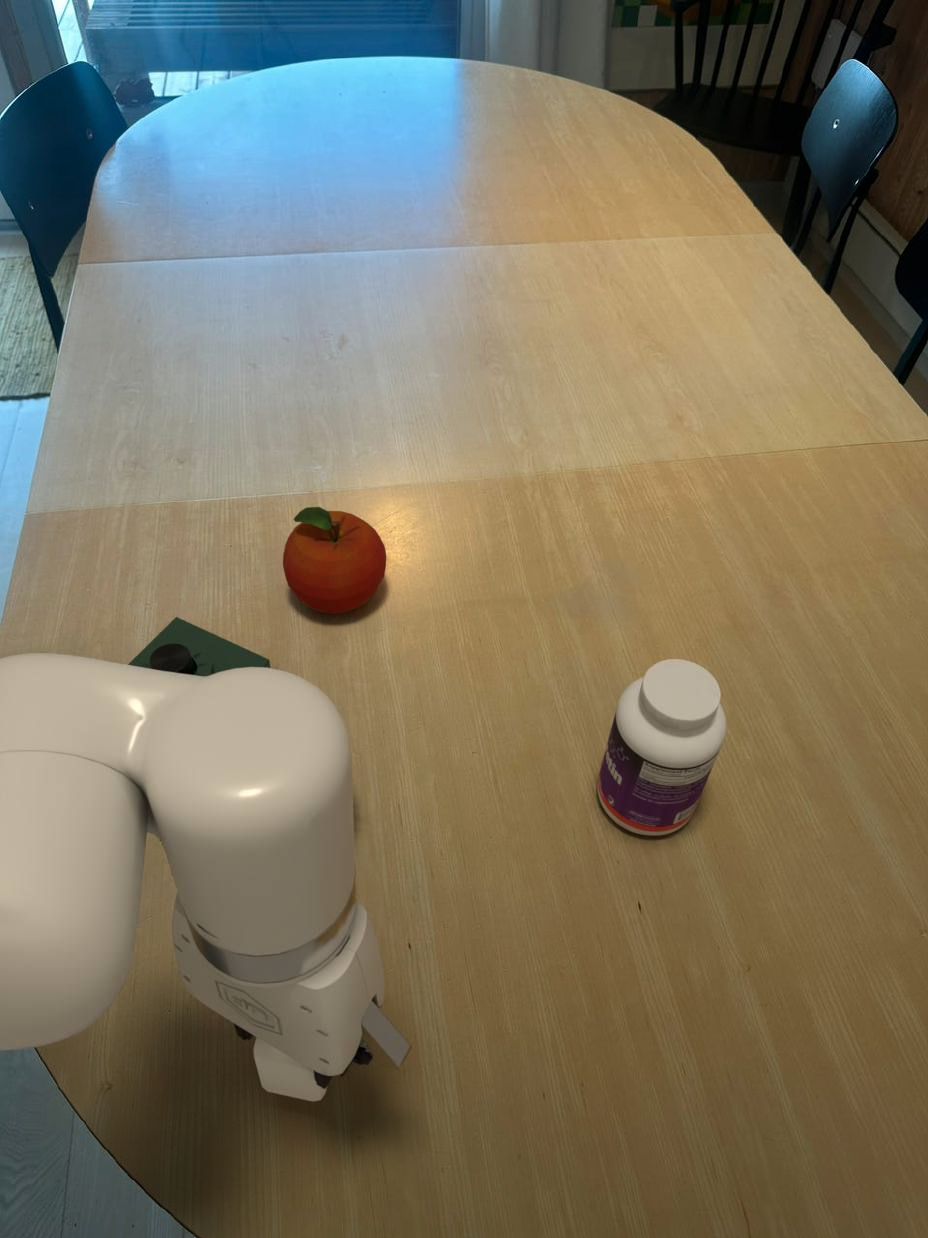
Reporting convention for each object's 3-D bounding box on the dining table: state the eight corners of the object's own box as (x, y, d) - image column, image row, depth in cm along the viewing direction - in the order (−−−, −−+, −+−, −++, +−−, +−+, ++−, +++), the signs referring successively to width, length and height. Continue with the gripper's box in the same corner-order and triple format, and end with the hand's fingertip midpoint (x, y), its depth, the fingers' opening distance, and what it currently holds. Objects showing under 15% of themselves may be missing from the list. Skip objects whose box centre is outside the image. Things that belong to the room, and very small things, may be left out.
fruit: (375, 637, 89) (372, 559, 82) (275, 622, 90) (262, 543, 83) (397, 566, 96) (396, 488, 88) (303, 553, 97) (294, 474, 89)
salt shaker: (340, 1040, 61) (336, 979, 54) (323, 1107, 58) (315, 1052, 52) (279, 1027, 62) (267, 964, 55) (259, 1093, 59) (243, 1036, 52)
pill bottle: (599, 749, 82) (627, 636, 71) (694, 765, 81) (737, 653, 71) (591, 832, 76) (620, 723, 66) (693, 850, 76) (739, 743, 65)
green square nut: (185, 784, 78) (174, 748, 74) (90, 734, 81) (74, 697, 77) (273, 682, 85) (267, 645, 82) (182, 640, 88) (172, 602, 84)
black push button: (177, 694, 78) (172, 678, 77) (146, 679, 79) (141, 663, 78) (202, 668, 80) (198, 652, 79) (171, 653, 81) (167, 637, 80)
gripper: (65, 873, 43) (138, 1024, 57) (392, 1066, 39) (388, 1181, 52) (174, 753, 48) (218, 919, 61) (478, 912, 43) (454, 1054, 57)
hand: (296, 1038), depth 56 cm, fingers closed on salt shaker, 4 cm apart
